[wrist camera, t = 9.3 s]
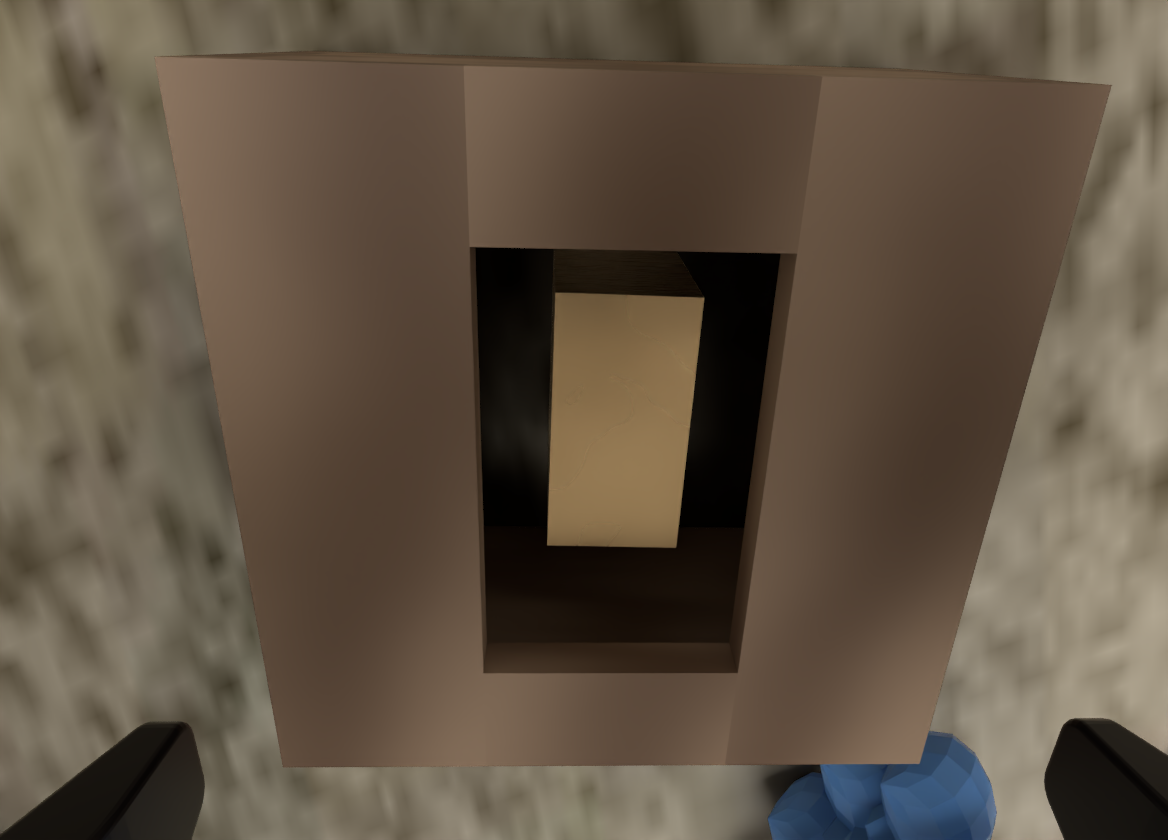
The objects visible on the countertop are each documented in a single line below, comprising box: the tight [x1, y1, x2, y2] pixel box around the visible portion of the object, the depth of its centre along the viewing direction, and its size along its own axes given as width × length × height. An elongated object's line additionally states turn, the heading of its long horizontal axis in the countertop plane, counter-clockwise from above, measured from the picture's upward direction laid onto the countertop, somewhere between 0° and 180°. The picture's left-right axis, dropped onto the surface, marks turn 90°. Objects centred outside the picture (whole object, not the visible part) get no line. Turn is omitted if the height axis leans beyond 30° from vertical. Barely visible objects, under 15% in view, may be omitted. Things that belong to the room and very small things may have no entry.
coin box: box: [155, 51, 1112, 767], centre depth 16 cm, size 12×12×7 cm
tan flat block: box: [547, 249, 704, 548], centre depth 17 cm, size 2×5×5 cm, turn 177°
